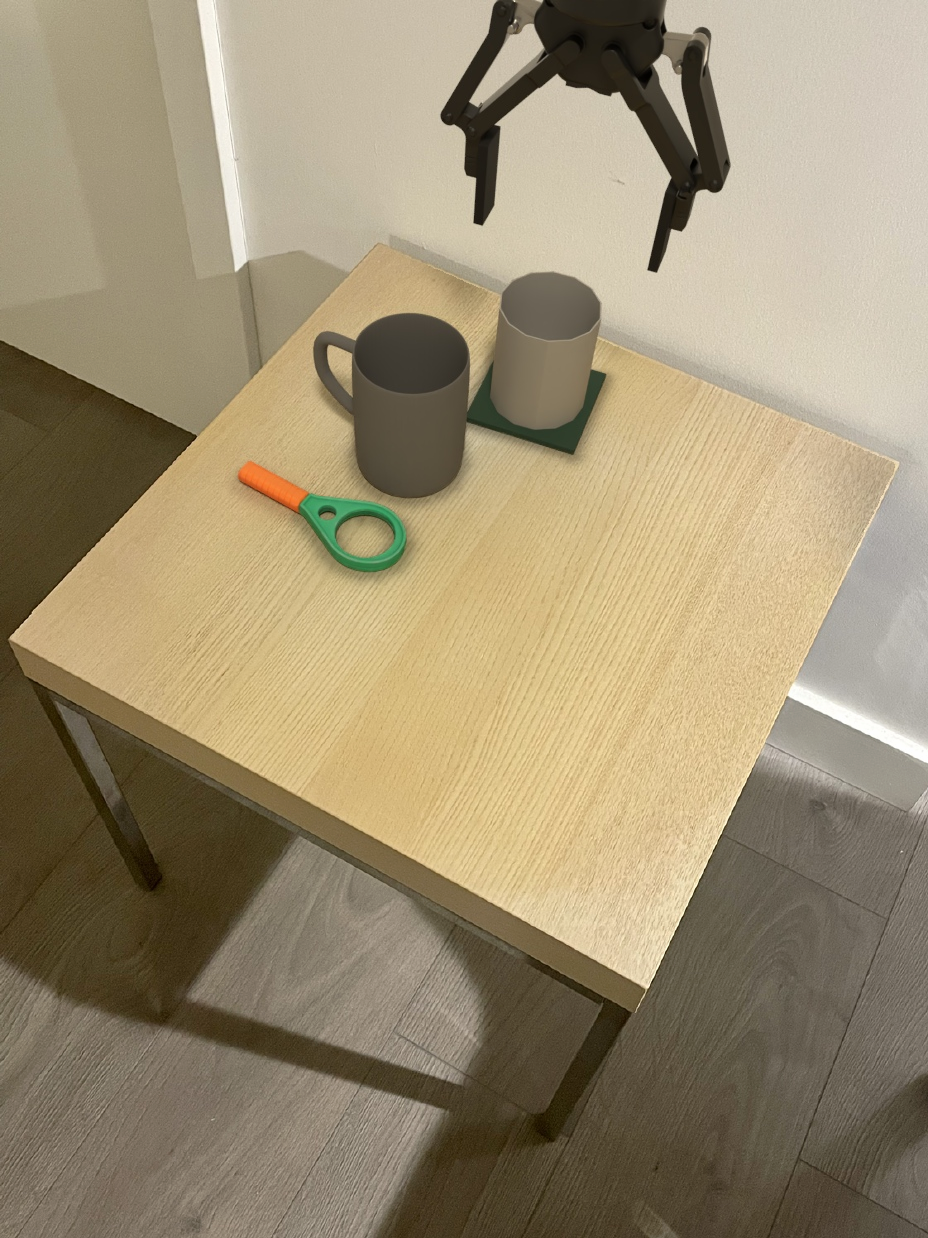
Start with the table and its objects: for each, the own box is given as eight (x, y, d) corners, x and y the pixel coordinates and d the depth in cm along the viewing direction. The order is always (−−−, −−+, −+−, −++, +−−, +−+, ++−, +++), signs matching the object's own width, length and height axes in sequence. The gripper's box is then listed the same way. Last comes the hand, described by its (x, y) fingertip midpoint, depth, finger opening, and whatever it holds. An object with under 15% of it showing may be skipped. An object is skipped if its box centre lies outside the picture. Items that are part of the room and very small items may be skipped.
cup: (519, 348, 98) (531, 258, 90) (599, 384, 96) (619, 295, 88) (472, 404, 94) (480, 315, 85) (555, 443, 92) (571, 356, 84)
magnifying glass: (420, 533, 87) (421, 520, 85) (379, 585, 84) (379, 572, 82) (268, 455, 90) (265, 441, 89) (223, 502, 87) (220, 488, 86)
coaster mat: (605, 378, 97) (606, 373, 97) (573, 455, 92) (574, 450, 92) (501, 347, 99) (502, 342, 98) (464, 421, 94) (464, 416, 93)
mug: (482, 446, 92) (493, 339, 82) (428, 517, 88) (432, 413, 78) (348, 384, 95) (343, 274, 85) (289, 450, 91) (276, 342, 81)
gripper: (836, -53, 63) (741, 250, 81) (439, -139, 67) (431, 168, 84) (814, 7, 59) (720, 312, 77) (393, -88, 63) (396, 223, 80)
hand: (569, 237), depth 81 cm, fingers open, 13 cm apart
